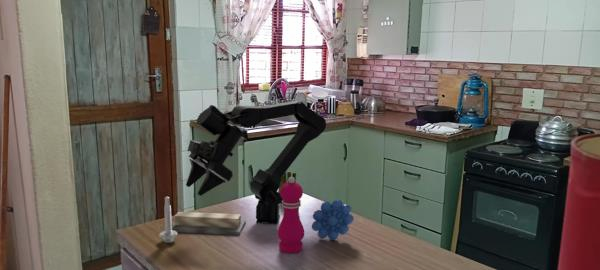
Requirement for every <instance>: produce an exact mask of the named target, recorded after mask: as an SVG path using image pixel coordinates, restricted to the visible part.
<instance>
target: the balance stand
mask: <svg viewBox="0 0 600 270" xmlns="http://www.w3.org/2000/svg"><path fill="white" fill-rule="evenodd" d="M246 221H247V220H246V219H242V216H241V214H240V213H239V214H237V213H220V212H219V213H218V212H217V213H214V212H192V211H191V212H190V211H178V212H177V213H175V215H174V222H173V223H171V224H172V225H171V226H172V227H171V228H172V229H171V230H174V231H176V232H177V233H191V234H192V233H195V234H196V233H197V234H213V235H216V234H217V235H233V236H234V235H235V236H236V235H237V236H238V235H239V236H240V235H241V234H242V231H243V230H244V227H245V225H246V224H247V222H246Z"/></svg>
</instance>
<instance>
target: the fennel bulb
mask: <svg viewBox="0 0 600 270" xmlns="http://www.w3.org/2000/svg"><path fill="white" fill-rule="evenodd" d="M289 177H294V178H295V183H297V172H295V171H293V172H292V171H291V170H290V171H288V170H287V171H286V172H285V173H284V175H283V176H282V178H281V182H280V187H279V189H278V192H279V193H280V189H281V187H282V186H283V185H284V184H285V183H287V182H288V179H289Z"/></svg>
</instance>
